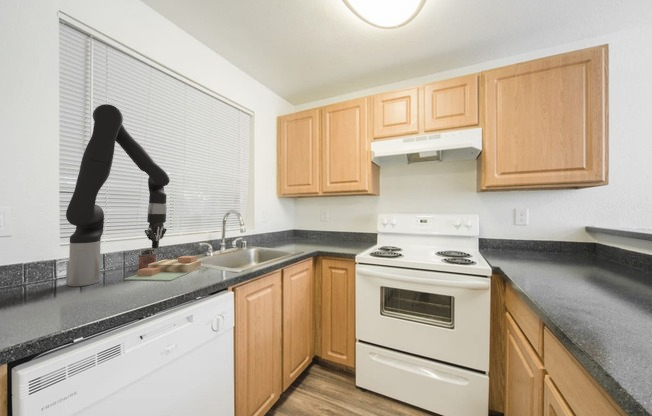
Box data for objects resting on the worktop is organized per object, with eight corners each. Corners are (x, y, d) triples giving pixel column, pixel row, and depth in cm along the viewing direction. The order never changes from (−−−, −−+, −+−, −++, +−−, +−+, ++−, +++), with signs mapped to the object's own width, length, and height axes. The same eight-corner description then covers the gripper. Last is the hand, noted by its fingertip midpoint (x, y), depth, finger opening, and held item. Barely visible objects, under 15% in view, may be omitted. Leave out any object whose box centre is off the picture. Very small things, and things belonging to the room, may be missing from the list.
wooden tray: (147, 272, 122) (148, 264, 122) (164, 266, 134) (164, 259, 134) (187, 273, 121) (187, 265, 121) (200, 267, 133) (200, 260, 133)
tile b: (177, 262, 127) (177, 257, 127) (183, 260, 132) (183, 255, 132) (191, 262, 127) (191, 257, 127) (196, 260, 132) (196, 256, 132)
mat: (123, 280, 108) (123, 278, 108) (146, 272, 121) (146, 271, 121) (170, 280, 108) (171, 279, 108) (188, 273, 121) (188, 272, 121)
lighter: (139, 270, 126) (140, 250, 126) (137, 269, 128) (137, 249, 128) (157, 267, 133) (157, 248, 133) (154, 266, 135) (155, 248, 135)
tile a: (145, 267, 119) (145, 272, 119) (137, 270, 114) (137, 275, 114) (159, 267, 119) (159, 273, 119) (152, 270, 114) (152, 275, 114)
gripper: (158, 212, 127) (156, 246, 127) (139, 212, 114) (137, 250, 114) (173, 213, 128) (171, 246, 127) (155, 213, 114) (153, 250, 114)
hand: (155, 248), depth 120 cm, fingers closed
